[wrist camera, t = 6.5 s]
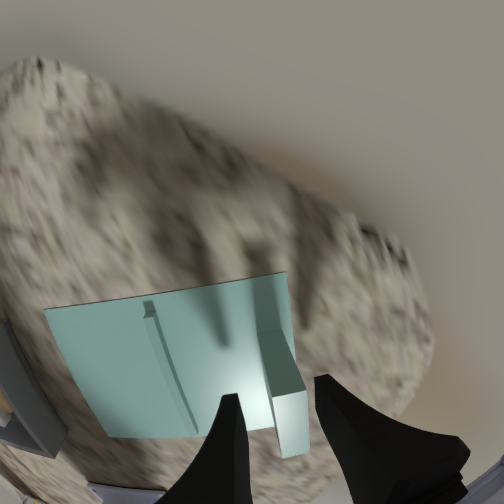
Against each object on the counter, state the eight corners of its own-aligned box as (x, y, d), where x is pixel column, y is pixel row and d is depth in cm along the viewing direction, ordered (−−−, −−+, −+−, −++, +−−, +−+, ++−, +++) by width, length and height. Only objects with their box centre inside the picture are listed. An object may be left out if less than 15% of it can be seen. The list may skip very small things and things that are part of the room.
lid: (299, 415, 15) (320, 476, 10) (110, 432, 15) (92, 486, 10) (283, 269, 13) (317, 316, 8) (47, 306, 12) (-4, 351, 7)
